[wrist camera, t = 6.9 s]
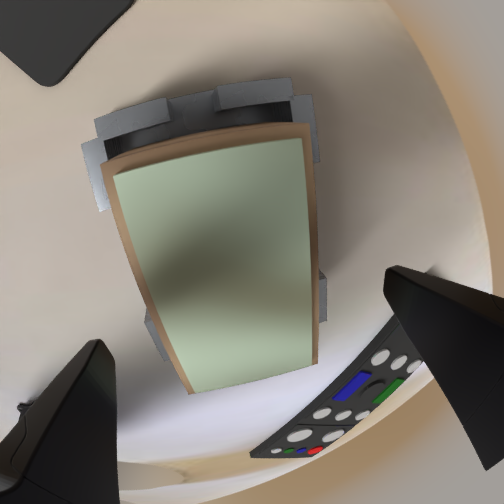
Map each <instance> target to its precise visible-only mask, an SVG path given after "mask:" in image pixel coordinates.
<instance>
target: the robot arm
mask: <svg viewBox="0 0 504 504" xmlns="http://www.w3.org/2000/svg"><path fill="white" fill-rule="evenodd" d="M383 292H384V296H385V298H386V300H387V301H388V303H389V305H390V307H391V308H392V310H393V312H394V314H395V316H396V317H397V319H398V321H399V323H400V325H401V326H402V328H403V330H404V332H405V333H406V335H407V336H408V338H409V339H410V341H411V342H412V344H413V345H414V347H415V348H416V350H417V351H418V353H419V354H420V356H421V357H422V359H423V360H424V362H425V363H426V365H427V367H428V368H429V370H430V371H431V373H432V374H433V376H434V378H435V379H436V381H437V383H438V384H439V386H440V387H441V389H442V391H443V392H444V394H445V396H446V397H447V399H448V401H449V403H450V404H451V406H452V408H453V409H454V411H455V413H456V415H457V417H458V418H459V420H460V422H461V423H462V425H463V428H464V429H465V431H466V433H467V435H468V437H469V439H470V441H471V443H472V445H473V447H474V448H475V450H476V453H477V455H478V457H479V459H480V461H481V463H482V465H483V467H484V469H485V470H486V471H487V470H489V469H490V468H491V467H493V466H494V465H495V464H497V463H498V462H500V461H501V460H502V459H503V458H504V298H501V297H498V296H495V295H492V294H488V293H486V292H483V291H480V290H477V289H474V288H471V287H467V286H464V285H461V284H458V283H455V282H452V281H448V280H445V279H442V278H439V277H436V276H432V275H429V274H426V273H422V272H419V271H416V270H413V269H409V268H406V267H402V266H399V265H395V266H392V267H389V268H387V269H386V271H385V278H384V287H383ZM17 409H18V411H19V412H20V413H21V414H20V417H19V421H18V423H17V424H16V425H15V426H14V428H13V429H12V430H11V431H10V432H9V434H8V435H7V436H6V437H5V438H4V439H3V440H2V441H1V443H0V504H120V499H119V487H118V474H117V472H118V471H117V395H116V375H115V361H114V358H113V356H112V354H111V353H110V351H109V350H108V348H107V347H106V345H105V343H104V342H103V341H102V340H101V339H95V340H90V341H88V342H87V343H86V344H85V345H84V346H83V348H82V349H81V350H80V351H79V352H78V353H77V354H76V355H75V356H74V357H73V358H72V360H71V361H70V362H69V363H68V364H67V365H66V366H65V367H64V368H63V370H62V371H61V372H60V373H59V374H58V375H57V376H56V378H55V379H54V380H53V381H52V382H51V383H50V384H49V386H48V387H47V388H46V389H45V390H44V391H43V393H42V394H41V395H40V396H39V397H38V398H37V400H36V401H35V402H34V403H33V404H32V406H26V405H18V406H17Z"/></svg>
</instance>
